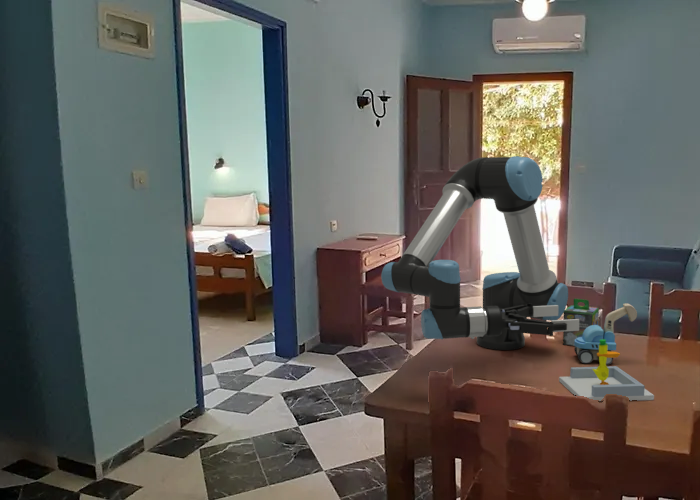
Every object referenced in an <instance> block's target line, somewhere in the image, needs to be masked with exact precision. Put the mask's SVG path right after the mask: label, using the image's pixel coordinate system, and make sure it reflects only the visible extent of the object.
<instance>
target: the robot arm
mask: <svg viewBox="0 0 700 500" xmlns="http://www.w3.org/2000/svg"><path fill="white" fill-rule="evenodd" d="M543 181H544V180H543V174H542V171H541V168H540V166H539V164H538V163H537V162H536V161H535V160H534V159H532V158H530V157H528V156H527V157H526V156H525V157H524V156H517V155H516V156H515V155H514V156H506V157H505V156H500V157H495V156H493V157H491V156H490V157H487V156H486V157H485V156H483V157H477V158H475V159H473V160H470V161H468V162H467V163H466V164H463V165H462V167H460V168H459V169H457V171H455V172H454V173H453V175H451V176H450V178H449V179H448V180H447V181H446V183H445V185H444V186H443V188H442V195H441V196H440V198H439V200H438V201H437V203H436V205H435V206H434V208H433V209H432V210H431V212H430V214H429V215H428V216H427V218H426V220H425V221H424V223H423V224H422V226H421V227H420V228H419V230H418V231H417V233H416V235H414V237H413V239H412V241H411V242H409V243H410V244H409V245H408V246H407V248H406V250H405V251H404V253H403V254H402V256H401V257H400V258H399V260H398V261H391V262H388V263H387V264H385V265H384V266H383V268H382V271H381V275H380V277H381V283H382V285H383V287H384V288H386V289H387V290H389V291H392V292H395V293H403V294H410V295H416V296H423V297H427V298H428V299H429V308H428V307H427V308H424V309H422V311H421V314H420V325H421V326H420V327H421V332H422V333H421V334H422V335H423V336H424V338H426V339H428V340H431V339H432V340H433V339H435V340H445V339H460V338H461V339H462V338H470V339H471V340H474V339H475V337H476V344H477V345H479V347H482V348H486V349H489V350H499V351H510V350H518V349H521V348H523V347H524V346H526V345H525V343H526V342H525V341H526V338H525V337H526V336H525V334H530V335H531V334H532V335H541V336H543V335H544V336H549V337H553V336H554V333H560V332H561V333H563V332H564V331H579V319H568V320H563V319H560V318H561V317H562V316H563V315H564V310H566V308H567V304H568V300H569V288H568V286H567V285H566V284H565V283H563V282H558V277H557V275H556V273H555V271H553V270H552V269H550V267H549V264H548V259H547V256H546V255H547V254H546V250H545V246H544V243H543V242H544V241H543V238H542V234H541V229H540V225H539V222H538V217H537V213H536V212H537V211H536V210H535V205H536V203H537V202H538V198H539V197H540V195H541V193H542V190H543V184H542V183H543ZM482 199H485V200H488V199H489V200H493V201H494V205H495V208H496V210H497V211H498V212H499V213H503V216H504V220H505V225H506V228H507V233H508V237H509V240H510V243H511V244H510V245H511V247H512V250H513V253H514V254H513V255H514V258H515V262H516V265H517V270H518V272H517V271H507V272H496V273H491V274H490V273H489V274H487V275H485V277H483V281H482V282H483V283H482V306H463V307H461V280H462V279H461V275H460V274H461V272H460V265H459V263H458V262H457V261H455V260H453V259H452V260H451V259H436V260H434V259H435V258H436V257H437V255H438V253H439V252H440V250H441V248H442V247H443V245H444V244H445V243H446V240H447V239H448V238H449V237H450V235H451V233H452V231H453V229H454V228H455V227H456V225H457V223H458V222H459V220H460V218H461V217H462V216H463V214H464V213H465V211H466V209H470V208H471V207H472V206H473V205H474V203H475V202H476V201H478V200H482ZM531 318H532V319H531Z"/></svg>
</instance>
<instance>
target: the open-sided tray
mask: <svg viewBox="0 0 700 500" xmlns="http://www.w3.org/2000/svg"><path fill="white" fill-rule="evenodd" d="M606 366H607V368H608V369H609V376H608V378H607V379H606V380H604V382H607V383H608V384H609V385H600V383H601V380H599V379H598V377H597V375H596V374H595V372H594V371H593V369H597V368H598V366H578V367H576V366H575V367H574V366H573V367H570V370H569V371H570V373H569V374H570V375H569V376H559V377H558V381H559V383H560V384H561V385H562V386H563V387H565V388H566V389H567V390H568V391H569V392H570V393H571V394H572V395H573V394H574V395H573V396H575V395H577V396H584V397H587V398H589V399H593V400H599V401H601V400H602V399H603V398H604V396H605V395H606V394H617V395H622V396H626V397H628V398H629V400H630V401H632V400H637V401H654V400H655V395H654V394H653V393H652V392H650V391H649V390H648V389H646V388H645V385H644V384H643V383H641V382H640V381H638V380H637V379H636V378H634V377H633V376H631V375H630V374H628V373H627V372H625V371H624V370H622V369H621V368H620V367H618V365H616V366H615V365H614V366H613V365H611V366H610V365H606ZM632 402H633V401H632Z"/></svg>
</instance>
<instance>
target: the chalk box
mask: <svg viewBox="0 0 700 500" xmlns="http://www.w3.org/2000/svg"><path fill="white" fill-rule="evenodd" d="M579 303H583V304H584V305H579ZM599 312H600V309H599V307H597V306H590V302H589V300H588V299H585V298H584V299H583V298H574V299H573V305H570V306H568V307H566V308H565V310H564V313H563V319H562V320H568V319H579V331H564V332H562V335H563V336H562V338H563V339H562V340H563V341H562V344H563V345H564V346H565V345H566V346H573V347H575V345H574V340H575V339H577V338H578V337H582V335H583V332H584V330H585V329H586V328H587V327H589V326H591V325H599V322H600V321H599V319H600V318H599V317H600V314H599ZM599 326H600V325H599Z"/></svg>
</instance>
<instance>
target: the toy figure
mask: <svg viewBox="0 0 700 500" xmlns="http://www.w3.org/2000/svg"><path fill="white" fill-rule="evenodd" d="M599 341H600V343H599V353H597V356H599V360H598V362H599V365H598V366H597V367H598V368H597V369H593V371H594V372H595V374H596V375H597V377H598V379H599V380H601V383H600V385H609V384H608V383H607V382H604V380H606V379H607V378H608V376H609V369H608V368H607V366H608V365H606V361H607V358H613V359H615V358H616V359H617V358H618V357H619V356H620V355H621V353H620V352H618V351H613V350H611V351H607V348H608V345H607V343H606V340H605V339H601V340H599Z"/></svg>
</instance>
